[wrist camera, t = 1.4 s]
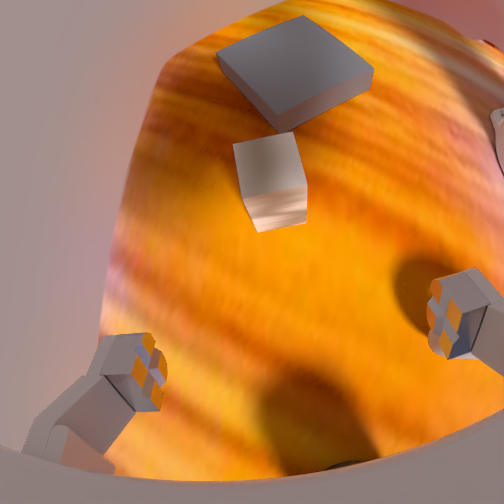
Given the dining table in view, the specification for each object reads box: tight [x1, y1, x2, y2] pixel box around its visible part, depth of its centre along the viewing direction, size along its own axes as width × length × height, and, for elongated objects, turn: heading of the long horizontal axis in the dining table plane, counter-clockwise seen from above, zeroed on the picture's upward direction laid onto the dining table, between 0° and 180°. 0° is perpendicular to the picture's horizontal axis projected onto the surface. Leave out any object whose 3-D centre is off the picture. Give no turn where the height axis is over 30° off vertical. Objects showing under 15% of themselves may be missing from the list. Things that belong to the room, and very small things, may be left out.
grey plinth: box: [216, 15, 374, 134], centre depth 34 cm, size 14×14×4 cm
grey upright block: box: [233, 132, 308, 232], centre depth 28 cm, size 5×5×9 cm
